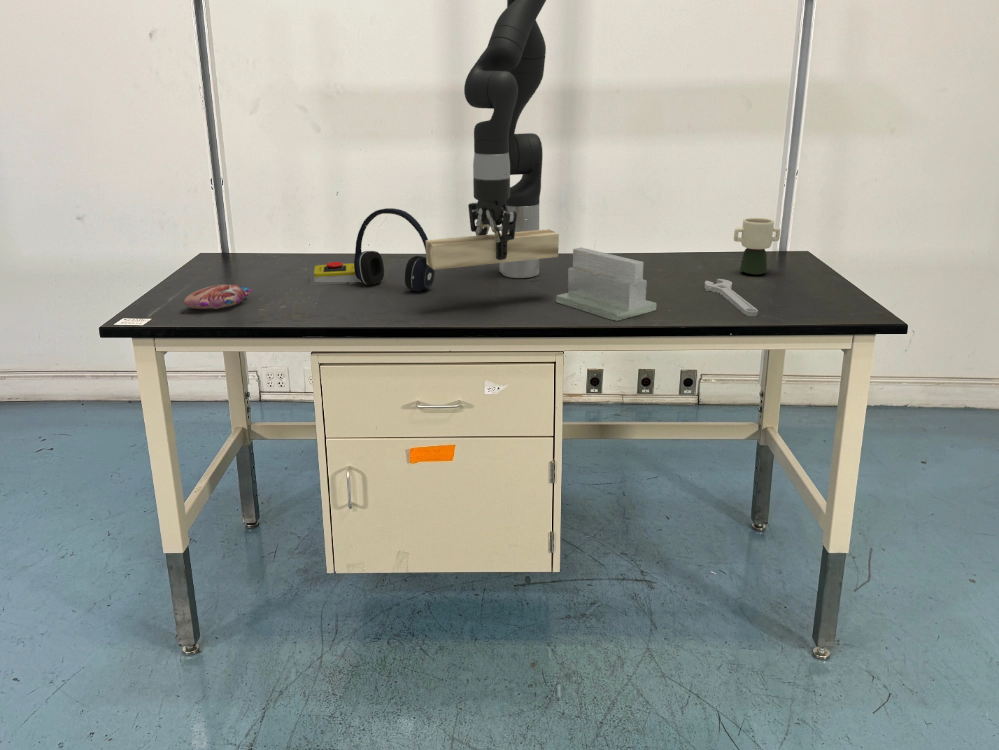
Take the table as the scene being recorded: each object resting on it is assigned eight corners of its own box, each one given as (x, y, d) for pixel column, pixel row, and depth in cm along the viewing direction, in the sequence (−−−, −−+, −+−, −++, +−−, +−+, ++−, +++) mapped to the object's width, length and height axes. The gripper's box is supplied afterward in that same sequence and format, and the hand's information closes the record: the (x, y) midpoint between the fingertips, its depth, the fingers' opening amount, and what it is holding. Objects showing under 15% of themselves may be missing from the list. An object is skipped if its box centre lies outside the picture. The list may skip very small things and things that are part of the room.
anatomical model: (233, 320, 169) (262, 288, 181) (223, 296, 166) (254, 265, 178) (188, 324, 171) (220, 291, 184) (178, 300, 169) (211, 269, 181)
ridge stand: (555, 302, 174) (556, 252, 170) (595, 292, 181) (596, 244, 177) (616, 321, 161) (618, 267, 157) (656, 309, 168) (659, 258, 164)
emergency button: (308, 260, 197) (369, 257, 199) (310, 278, 198) (371, 274, 201) (306, 269, 188) (370, 266, 191) (308, 287, 190) (372, 284, 192)
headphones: (439, 288, 186) (436, 209, 179) (423, 296, 180) (419, 214, 174) (368, 279, 195) (363, 203, 188) (351, 286, 189) (345, 208, 182)
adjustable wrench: (759, 319, 164) (760, 310, 163) (728, 319, 164) (728, 311, 163) (728, 285, 187) (728, 278, 186) (700, 286, 187) (701, 278, 186)
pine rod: (426, 263, 168) (425, 240, 166) (548, 251, 177) (549, 229, 175) (433, 269, 163) (432, 245, 161) (558, 256, 173) (558, 233, 171)
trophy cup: (770, 269, 199) (776, 217, 194) (779, 277, 192) (786, 223, 187) (726, 270, 199) (731, 217, 194) (734, 277, 192) (739, 223, 187)
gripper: (528, 177, 160) (527, 260, 166) (485, 169, 171) (486, 247, 177) (498, 181, 156) (498, 266, 162) (456, 172, 166) (458, 252, 173)
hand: (492, 255), depth 170 cm, fingers closed on pine rod, 6 cm apart
